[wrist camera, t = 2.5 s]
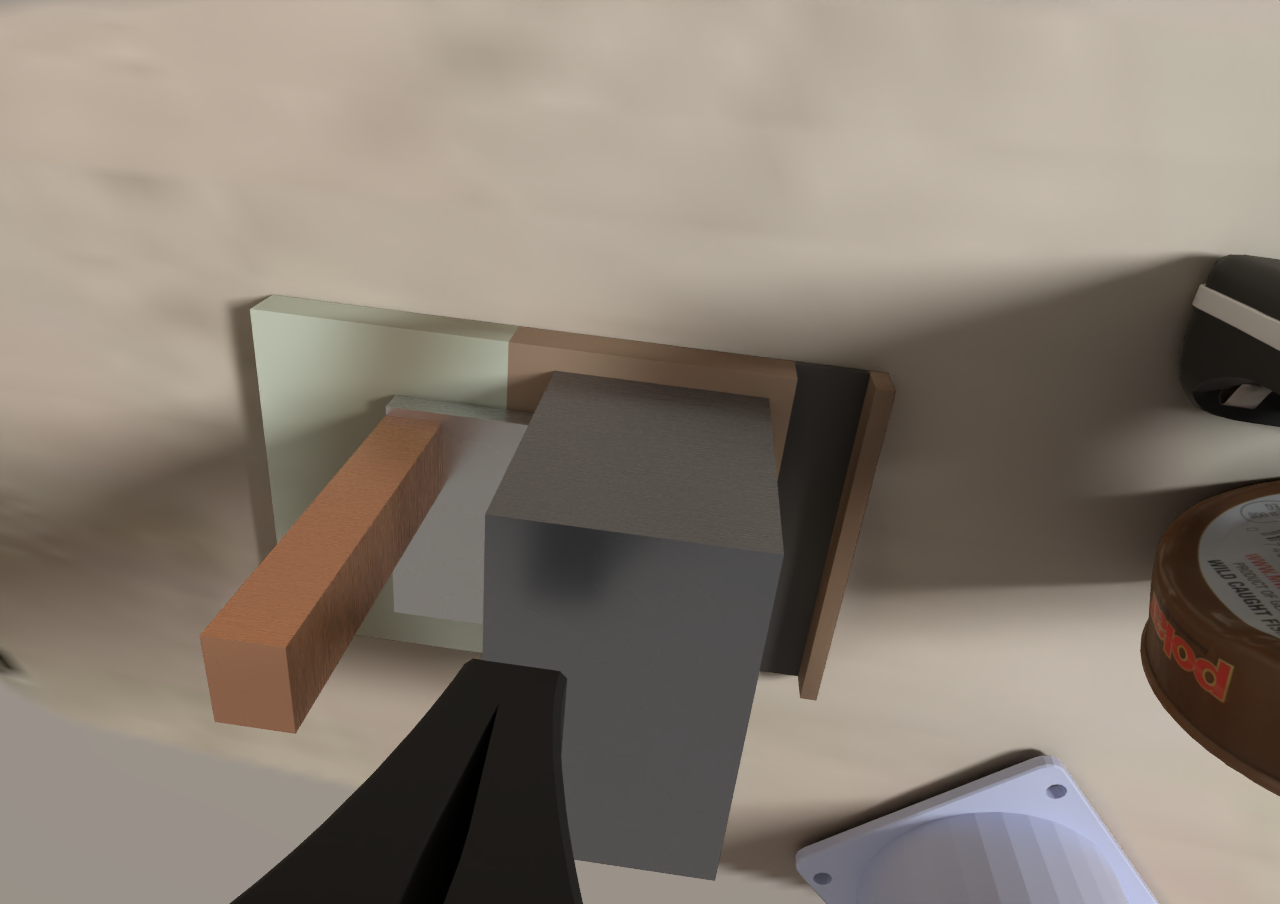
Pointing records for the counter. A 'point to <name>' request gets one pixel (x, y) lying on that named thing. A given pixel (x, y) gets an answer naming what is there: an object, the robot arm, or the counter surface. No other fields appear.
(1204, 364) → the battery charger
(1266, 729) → the tin
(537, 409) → the grey box
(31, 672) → the counter surface
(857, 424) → the track board
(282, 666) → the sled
